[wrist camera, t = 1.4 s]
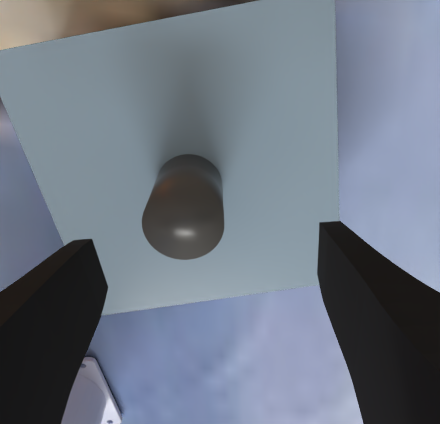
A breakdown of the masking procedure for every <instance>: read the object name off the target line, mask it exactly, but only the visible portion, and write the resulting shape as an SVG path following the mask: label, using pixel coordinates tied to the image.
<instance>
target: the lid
mask: <svg viewBox="0 0 440 424" xmlns="http://www.w3.org/2000/svg"><path fill="white" fill-rule="evenodd" d="M0 97H1V99H2V102H3V104H4V106H5V109H6V111H7V113H8V116H9V118H10V120H11V123H12V125H13V127H14V130H15V132H16V134H17V137H18V139H19V141H20V144H21V146H22V148H23V151H24V153H25V155H26V158H27V160H28V162H29V165H30V167H31V169H32V172H33V174H34V176H35V179H36V181H37V183H38V186H39V188H40V190H41V193H42V195H43V197H44V200H45V202H46V204H47V207H48V209H49V211H50V214H51V216H52V218H53V221H54V223H55V225H56V228H57V230H58V232H59V235H60V237H61V239H62V242H63V244H64V246H65V245H66V244H68V243H70V242H71V241H73V240H80V239H92V240H93V243H94V246H95V249H96V252H97V255H98V258H99V261H100V264H101V267H102V270H103V273H104V276H105V278H106V281H107V284H108V291H107V295H106V300H105V304H104V307H103V311H102V315H109V314H116V313H123V312H131V311H138V310H145V309H152V308H159V307H166V306H173V305H180V304H187V303H194V302H201V301H208V300H216V299H223V298H230V297H237V296H244V295H251V294H258V293H265V292H272V291H279V290H286V289H294V288H301V287H308V286H315V285H319V280H318V276H317V266H318V244H319V222H331V221H339V174H338V124H337V74H336V24H335V0H259V1H253V2H248V3H243V4H238V5H233V6H227V7H222V8H217V9H212V10H207V11H201V12H196V13H191V14H186V15H181V16H175V17H170V18H165V19H160V20H155V21H149V22H144V23H139V24H134V25H129V26H124V27H118V28H113V29H108V30H103V31H98V32H92V33H87V34H82V35H77V36H72V37H66V38H61V39H56V40H51V41H46V42H40V43H35V44H30V45H25V46H20V47H14V48H9V49H4V50H0ZM102 315H101V316H102Z"/></svg>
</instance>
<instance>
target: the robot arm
mask: <svg viewBox="0 0 440 424" xmlns="http://www.w3.org/2000/svg"><path fill="white" fill-rule="evenodd" d="M317 276H318V280H319V285H320V289H321V294H322V298H323V302H324V305H325V308H326V310H327V313H328V316H329V318H330V321H331V324H332V327H333V329H334V332H335V335H336V337H337V340H338V343H339V345H340V348H341V351H342V353H343V356H344V359H345V361H346V364H347V366H348V369H349V373H350V376H351V379H352V382H353V385H354V389H355V393H356V397H357V400H358V404H359V408H360V412H361V415H362V419H363V423H364V424H440V293H439V292H438V291H436V290H434V289H432V288H431V287H429V286H427V285H426V284H424V283H422V282H421V281H419V280H418V279H416V278H414V277H413V276H411V275H410V274H408V273H407V272H405V271H404V270H403V269H401V268H400V267H398V266H397V265H395V264H394V263H392V262H391V261H390V260H388V259H387V258H386V257H384V256H383V255H382V254H380V253H379V252H378V251H376V250H375V249H374V248H372V247H371V246H370V245H369V244H367V243H366V242H365V241H364V240H363V239H361V238H360V237H359V236H358V235H356V234H355V233H354V232H353V231H352V230H350V229H349V228H348V227H347V226H346V225H344V224H343V223H342V222H341V221H331V222H319V244H318V266H317ZM107 291H108V284H107V281H106V278H105V276H104V273H103V270H102V267H101V264H100V261H99V258H98V255H97V252H96V249H95V246H94V243H93V240H92V239H80V240H73V241H71V242H70V243H68V244H66V245H65V246H64V247H62V248H61V249H59V250H58V251H57V252H55V253H54V254H52V255H51V256H50V257H48V258H47V259H46V260H44V261H43V262H42V263H40V264H39V265H38V266H36V267H35V268H34V269H32V270H31V271H29V272H28V273H27V274H25V275H24V276H23V277H21V278H20V279H19V280H17V281H16V282H14V283H13V284H11V285H10V286H8V287H7V288H6V289H4V290H3V291H1V292H0V424H120V423H121V422H122V415H121V413H120V411H119V409H118V406H117V404H116V402H115V400H114V398H113V396H112V393H111V391H110V389H109V387H108V385H107V382H106V380H105V378H104V376H103V374H102V372H101V369H100V367H99V365H98V363H97V361H96V359H95V358H93V357H85V354H86V352H87V350H88V347H89V345H90V342H91V340H92V337H93V335H94V332H95V330H96V328H97V325H98V323H99V320H100V317H101V315H102V311H103V307H104V304H105V300H106V295H107Z"/></svg>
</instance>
